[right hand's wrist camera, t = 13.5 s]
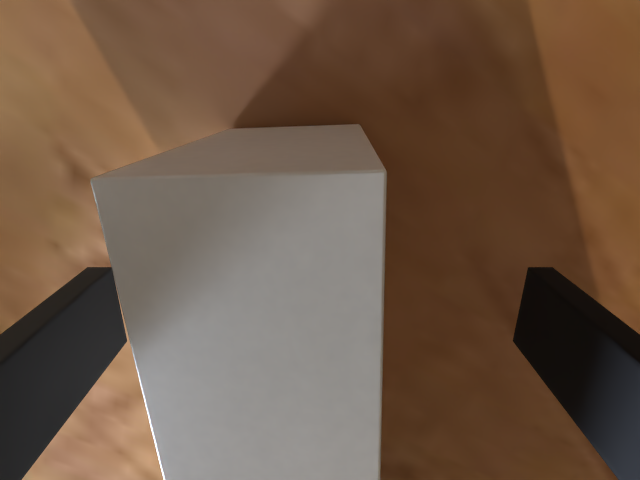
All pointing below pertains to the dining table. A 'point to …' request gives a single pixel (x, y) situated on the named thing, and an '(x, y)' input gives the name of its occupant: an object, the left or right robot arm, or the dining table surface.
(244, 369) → the beam
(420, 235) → the dining table surface
